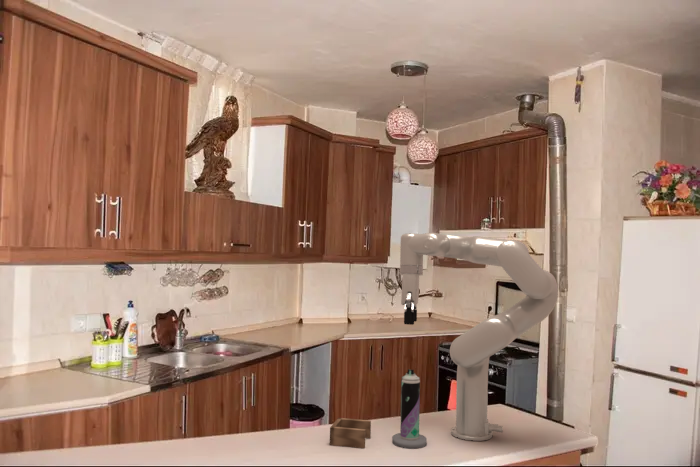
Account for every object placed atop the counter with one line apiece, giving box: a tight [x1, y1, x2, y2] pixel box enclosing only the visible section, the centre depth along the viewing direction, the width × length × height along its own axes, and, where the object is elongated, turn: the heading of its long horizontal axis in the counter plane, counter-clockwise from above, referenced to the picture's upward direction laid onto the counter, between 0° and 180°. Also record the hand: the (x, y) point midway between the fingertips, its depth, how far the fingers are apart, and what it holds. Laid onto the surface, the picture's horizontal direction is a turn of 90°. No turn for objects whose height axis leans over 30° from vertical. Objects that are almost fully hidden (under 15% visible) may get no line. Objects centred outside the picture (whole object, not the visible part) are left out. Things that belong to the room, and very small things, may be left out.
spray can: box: [400, 369, 421, 441], centre depth 166 cm, size 6×6×20 cm
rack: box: [329, 417, 372, 449], centre depth 166 cm, size 10×10×5 cm
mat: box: [391, 433, 427, 450], centre depth 166 cm, size 10×10×2 cm
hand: (410, 322), depth 185 cm, fingers open, 9 cm apart
